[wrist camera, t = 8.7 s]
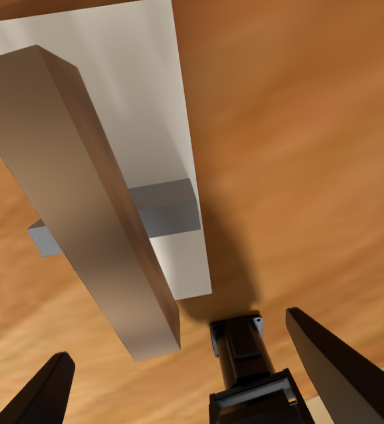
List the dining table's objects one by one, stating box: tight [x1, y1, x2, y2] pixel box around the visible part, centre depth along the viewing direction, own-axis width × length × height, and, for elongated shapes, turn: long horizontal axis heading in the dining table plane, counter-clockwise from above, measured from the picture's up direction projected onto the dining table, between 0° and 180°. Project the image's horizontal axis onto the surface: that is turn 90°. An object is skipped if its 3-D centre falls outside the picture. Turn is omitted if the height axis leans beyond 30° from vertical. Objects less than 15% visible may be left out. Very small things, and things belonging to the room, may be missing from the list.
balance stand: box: [0, 0, 212, 300], centre depth 15 cm, size 24×11×6 cm, turn 8°
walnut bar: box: [0, 44, 181, 362], centre depth 11 cm, size 16×3×3 cm, turn 15°
